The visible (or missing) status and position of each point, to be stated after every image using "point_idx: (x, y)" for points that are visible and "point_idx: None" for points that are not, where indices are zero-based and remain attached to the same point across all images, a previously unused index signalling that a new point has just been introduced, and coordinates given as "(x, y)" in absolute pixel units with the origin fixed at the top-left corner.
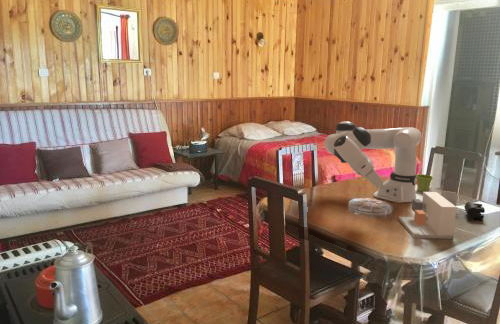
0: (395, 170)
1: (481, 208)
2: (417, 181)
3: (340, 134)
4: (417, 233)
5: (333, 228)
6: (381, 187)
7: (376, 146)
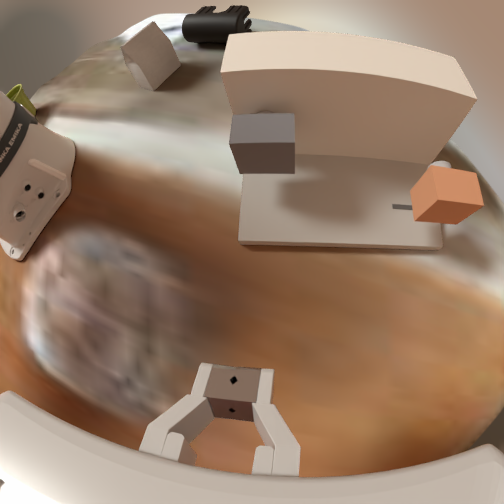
0: None
1: (240, 8)
2: None
3: None
4: (432, 231)
5: None
6: (272, 395)
7: None
